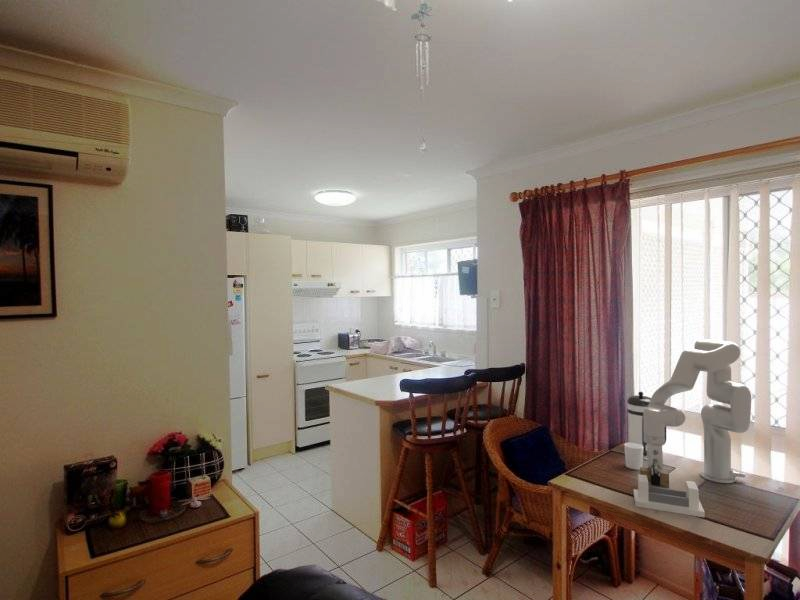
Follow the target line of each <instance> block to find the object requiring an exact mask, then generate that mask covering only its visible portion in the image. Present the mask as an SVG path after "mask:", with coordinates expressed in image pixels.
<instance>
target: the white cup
mask: <svg viewBox="0 0 800 600" xmlns="http://www.w3.org/2000/svg"><path fill="white" fill-rule="evenodd" d="M623 445H624V447H623V448H624V458H625V459H624V460H625V467H626V468H628V469H632V470H639V471H640V467H643V462H644V455H643V448H644V447H643V445H641V444H638V443H627V442H625V443H624V444H623Z"/></svg>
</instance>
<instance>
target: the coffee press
mask: <svg viewBox="0 0 800 600" xmlns="http://www.w3.org/2000/svg"><path fill="white" fill-rule="evenodd" d="M627 398H628V399H627V400H626V405H627V407H626V410H627V411H626V412H627V413H626V422H627V423H626V424H627V425H626V426H627V427H626V431H627V432H626V433H627V435H626V436H627V437H626V438H627V440H626V441H627V442H626V443H638V444H641V445H643V447H644V448H643V456H647V443H645V442H644V421H643V412H644V409H645V408H648V405H649V402H650V400H651V398H652V397H650V396H646V395H644V393H643V391H639V392H638V395H636V394H635V395H631V396H629V397H627ZM666 443H667V426H665V444H666ZM663 446H664V445H662V447H663Z"/></svg>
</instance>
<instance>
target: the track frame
mask: <svg viewBox="0 0 800 600" xmlns="http://www.w3.org/2000/svg"><path fill="white" fill-rule="evenodd" d="M684 485H685V490H680V489H675V488H669V489H668V488H661V487H654V486H648V479H647V475H640V473H638V474H637V489H635V488H633V499H634V505H635V507H637V508H643V509H648V510H649V509H651V510H656V511H661V512H668V513H675V514H681V515H686V516H687V515H688V516H695V517H699V518H705V516H706V515H705V514H706V512H705V510H704V508H703V506H702V503H701V501H700V499H699V498H700V497H699V493H700V492H699V491H700V490H699V488H698V486H697V483H696V482H695V481H693V480H691V481H690V480H685V483H684Z"/></svg>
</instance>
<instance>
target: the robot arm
mask: <svg viewBox="0 0 800 600" xmlns="http://www.w3.org/2000/svg"><path fill="white" fill-rule="evenodd" d="M740 355H741V349H740V346H739V345H738V344H737V343H735V342H732V341H726V340H715V339H710V338H709V339H707V338H705V339H698V340H697V341H696V342H695V343H694V349H691V348H689V349H684V350H683V351H682V352H681V354H680V356H679V359H678V361H677V363H676V365H675V367H674V370H673V372H672V374H671V377H670V379H669V380H668V381H667V382H665V383H664V384H662V385H661V386H660V387H658V388H657V389H656V390H655V391H654V393H653V394H652V396H651V397H650V398H651V400H650V402H649V405H648V408H645V409H644V412H643V421H644V442H645V443H647V451H646V460H647V464H648V467H647V468H651V472H652V474H651V485H656V486H660V471H659V469H660V470H664V457H663V456H664V453H663V446H664V445H666V443H665V426H666V427H672V428H673V427H680V426H682V425H684V423H685V421H686V415H685V413H684V412H683V411H682V410H680V409H679V408H677V407H672V406H670V405H666V404H665V403H666V402H667V400H668V399H670V398H671V397H672V396H674V395H677V394H680V393H684V392H688V391H691V390H693V389H694V387H695V384H696V382H697V379H698V378H699V375H700V373H701V372H706V375H707V376H706V396H707V397H708V398H709V399H710V400H711V401H715V402H718V403H722V404H727V405H729V406H730V407H729V406H727V405H726V406H725V405H722V404H717V403H707V404H705V405H703V406H702V408H701V411H700V417H701V422H702V427H703V469H701V470H699V476H700V477H702V479H703V478H704V479H706V480H707V481H711V482H714V483H719V484H733V483H735V482H736V481H737V479H736V478H737V477H738V478H746V474H745V472H740V470H734V469H733V468H732V438H731V435H730V433H729V432H732V433H736V434H744V433H746V432H747V431H748V430H749V428H750V425H751V417H752V416H751V415H752V393H751V391H750V389H749V388H748V387H747V385H745V384H742V383H738V382H734V381H732V368H731V365H732V364H733V363H735V362H736V361H738V359H739V358H740ZM662 445H663V446H662ZM653 470H654V471H653Z"/></svg>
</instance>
